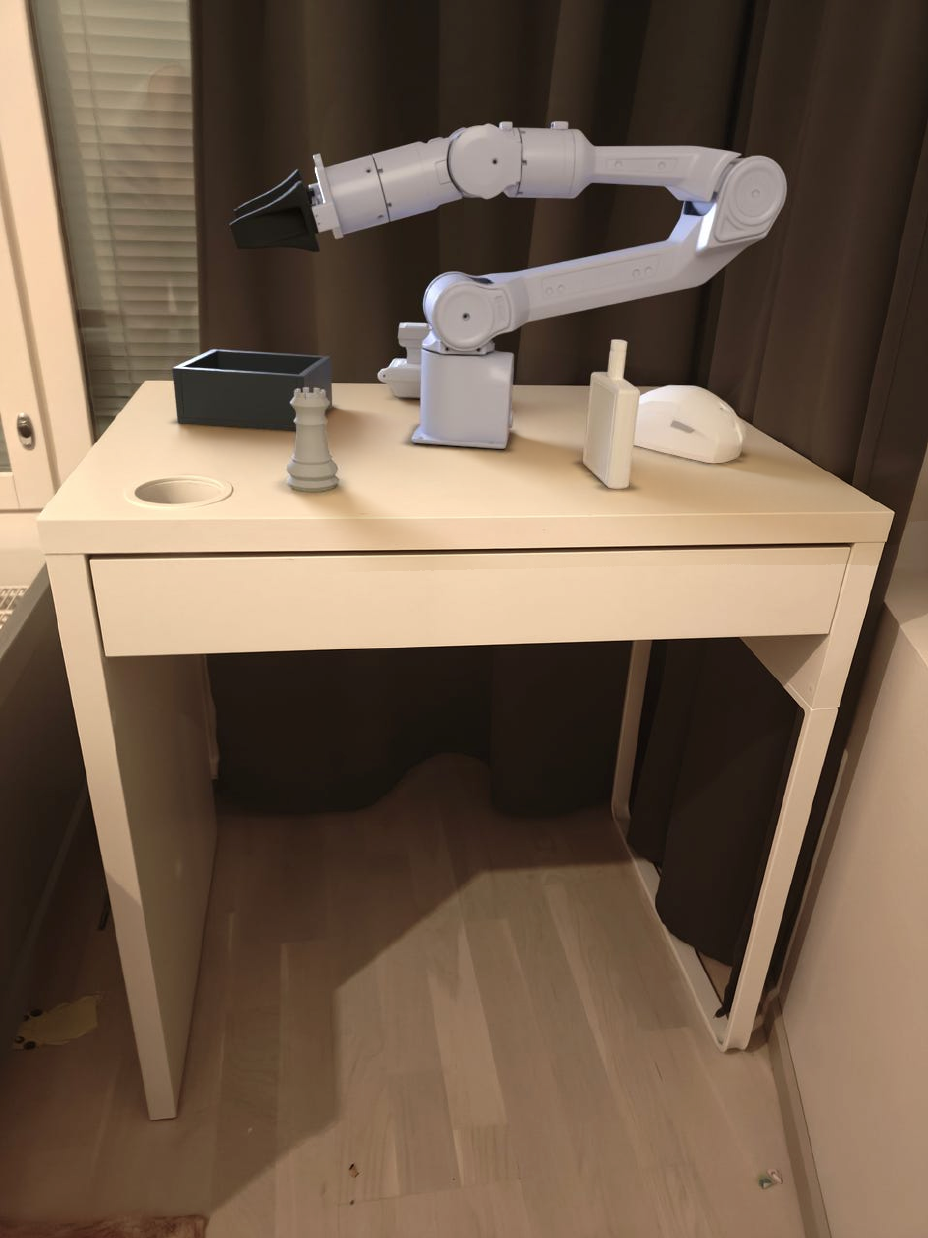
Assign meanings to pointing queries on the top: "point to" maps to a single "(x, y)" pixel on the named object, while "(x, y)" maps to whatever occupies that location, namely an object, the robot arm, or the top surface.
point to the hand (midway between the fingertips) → (236, 228)
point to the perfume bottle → (611, 421)
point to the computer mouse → (689, 424)
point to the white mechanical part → (407, 362)
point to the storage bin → (247, 387)
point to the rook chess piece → (311, 444)
